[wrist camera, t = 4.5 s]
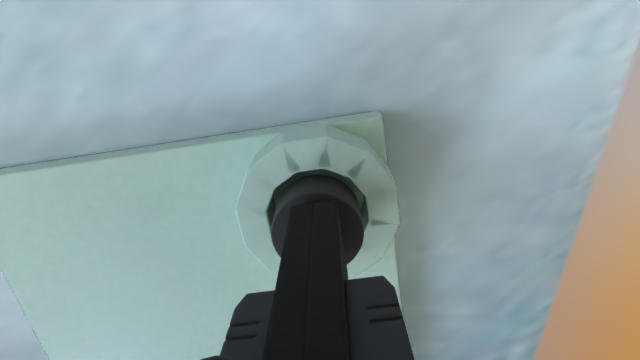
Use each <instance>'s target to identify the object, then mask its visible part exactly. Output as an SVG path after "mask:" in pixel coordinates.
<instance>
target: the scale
mask: <svg viewBox="0 0 640 360" xmlns="http://www.w3.org/2000/svg"><path fill="white" fill-rule="evenodd" d="M315 174H321V175H328V176H331V177H334V178H337V179H339V180H341V181H342V182H344V183H345V184H346V185H348V186H349V187H350V188H351V190H352V191H353V192H354V194H355V196H356V197H357V200H358V203H359V207H360V212H361V217H362V222H363V227H364V239H363V243H362V246H361V249H360V251H359V252H358V254H357V255H356V257H355V258H354V259H353V260H352V261H351V262H350V263H349V264H347V270H348V280H350V279H358V278H367V277H375V276H384V277H385V278H386V279H387V280H388V281H389V282H390V283H391V284H392V285H393V286H394V287H395V290H396V294H397V297H398V301H399V306H400V309H401V312H402V307H401V297H400V286H399V276H398V266H397V256H396V246H395V236H394V235H395V233H396V232H397V230H398V228H399V225H400V213H399V202H398V191H397V186H396V183H395V180H394V178H393V176H392V174H391V172H390V170H389V168H388V165H387V155H386V144H385V134H384V124H383V117H382V116H381V114H380V113H379V111H373V112H366V113H360V114H353V115H347V116H340V117H334V118H327V119H320V120H314V121H307V122H301V123H294V124H288V125H281V126H275V127H268V128H262V129H255V130H249V131H242V132H236V133H229V134H223V135H216V136H210V137H203V138H197V139H190V140H184V141H177V142H171V143H164V144H158V145H151V146H145V147H138V148H132V149H125V150H119V151H112V152H106V153H99V154H93V155H86V156H80V157H73V158H67V159H60V160H54V161H47V162H41V163H34V164H27V165H21V166H14V167H8V168H1V169H0V270H1V272H2V274H3V276H4V278H5V279H6V281H7V283H8V285H9V287H10V289H11V290H12V292H13V294H14V296H15V298H16V300H17V301H18V303H19V305H20V307H21V309H22V311H23V312H24V314H25V316H26V318H27V320H28V322H29V323H30V325H31V327H32V329H33V331H34V333H35V334H36V336H37V338H38V340H39V342H40V344H41V345H42V347H43V349H44V351H45V353H46V355H47V356H48V358H49V360H201V359H204V358H208V357H211V356H215V355H218V356H220V353H221V350H222V346H223V343H224V341H225V337H226V334H227V331H228V328H229V327H230V321H231V318H232V315H233V312H234V309H235V307H236V306H237V305H238V304H239V302H240V301H241V300H242V299H243V298H244V297H245V295H246V294H248V293H256V292H264V291H272V290H275V287H276V282H277V276H278V271H279V266H280V261H281V258H280V256H279V255H278V254H277V252H276V251H275V248H274V246H273V243H272V239H271V226H272V221H273V218H274V214H275V210H276V206H277V203H278V199H279V197H280V195H281V194H282V192H283V191H284V189H285V188H286V187H287V186H288V185H289V184H290V183H292V182H293V181H295V180H297V179H299V178H301V177H304V176H308V175H315Z"/></svg>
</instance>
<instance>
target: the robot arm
mask: <svg viewBox="0 0 640 360" xmlns="http://www.w3.org/2000/svg"><path fill="white" fill-rule="evenodd" d="M201 360H414V357H413V353H412V350H411V346H410V342H409V338H408V335H407V331H406V327H405V323H404V320H403V316H402V312H401V309H400V306H399V301H398V297H397V294H396V290H395V287H394V286H393V285H392V284H391V283H390V282H389V281H388V280H387V279H386V278H385V277H384V276H375V277H367V278H358V279H350V280H348V270H347V264H346V257H345V251H344V245H343V238H342V232H341V225H340V219H339V212H338V206H337V200H329V201H322V202H315V203H308V204H300V205H293V206H291V208H290V213H289V219H288V224H287V229H286V234H285V240H284V245H283V250H282V255H281V261H280V266H279V271H278V276H277V282H276V287H275V290H272V291H264V292H256V293H248V294H246V295H245V297H244V298H243V299H242V300H241V301H240V302H239V304H238V305H237V306H236V307H235V309H234V312H233V315H232V318H231V321H230V327H229V328H228V331H227V334H226V337H225V341H224V343H223V346H222V350H221V353H220V356H218V355H215V356H211V357H208V358H204V359H201Z"/></svg>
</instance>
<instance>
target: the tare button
mask: <svg viewBox="0 0 640 360" xmlns="http://www.w3.org/2000/svg"><path fill="white" fill-rule="evenodd" d="M329 200H337V206H338V212H339V219H340V225H341V232H342V238H343V245H344V251H345V257H346V264H349V263H350V262H351V261H352V260H353V259H354V258H355V257H356V255H357V254H358V252H359V251H360V249H361V246H362V243H363V239H364V227H363V222H362V217H361V212H360V207H359V203H358V200H357V197H356V196H355V194H354V192H353V191H352V190H351V188H350V187H349V186H348V185H346V184H345V183H344V182H342V181H341V180H339V179H337V178H334V177H331V176H328V175H321V174H315V175H308V176H304V177H301V178H299V179H297V180H295V181H293V182H292V183H290V184H289V185H288V186H287V187H286V188H285V189H284V191H283V192H282V194H281V195H280V197H279V199H278V203H277V206H276V210H275V214H274V218H273V221H272V226H271V239H272V243H273V246H274V248H275V251H276V252H277V254H278V255H279V256H280V258H281V255H282V250H283V245H284V240H285V234H286V229H287V224H288V219H289V213H290V208H291V206H293V205H300V204H308V203H315V202H322V201H329Z"/></svg>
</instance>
